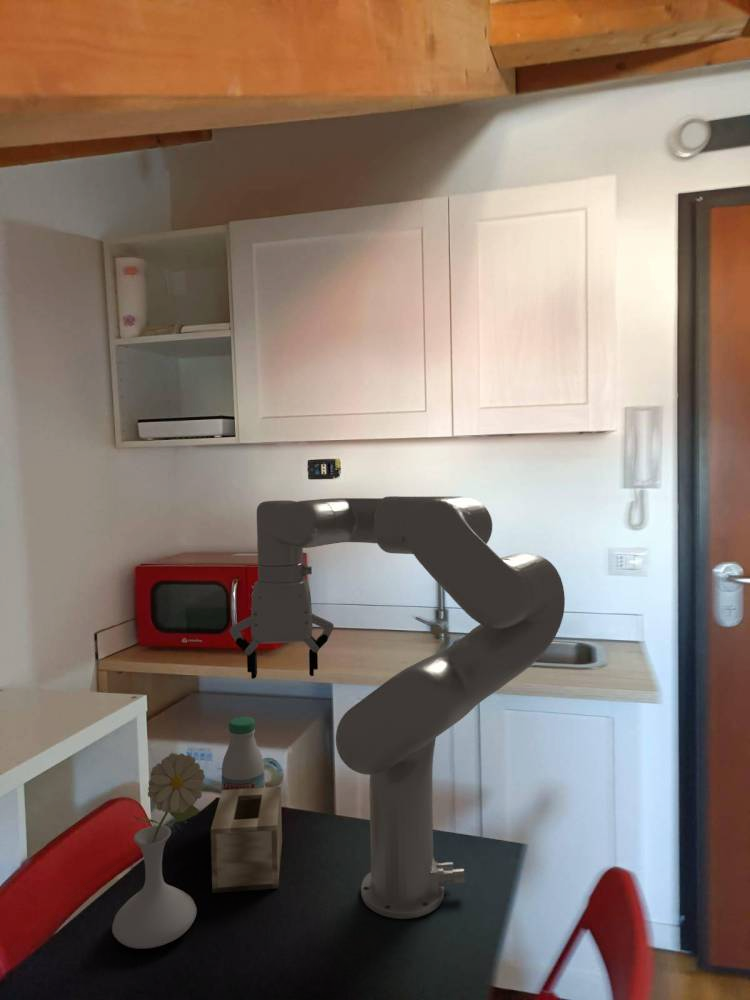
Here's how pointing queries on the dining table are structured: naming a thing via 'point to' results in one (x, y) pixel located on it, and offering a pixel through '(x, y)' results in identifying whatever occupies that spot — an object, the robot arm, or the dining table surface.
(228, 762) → the milk bottle
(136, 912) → the flower in vase
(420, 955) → the dining table surface
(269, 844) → the box
